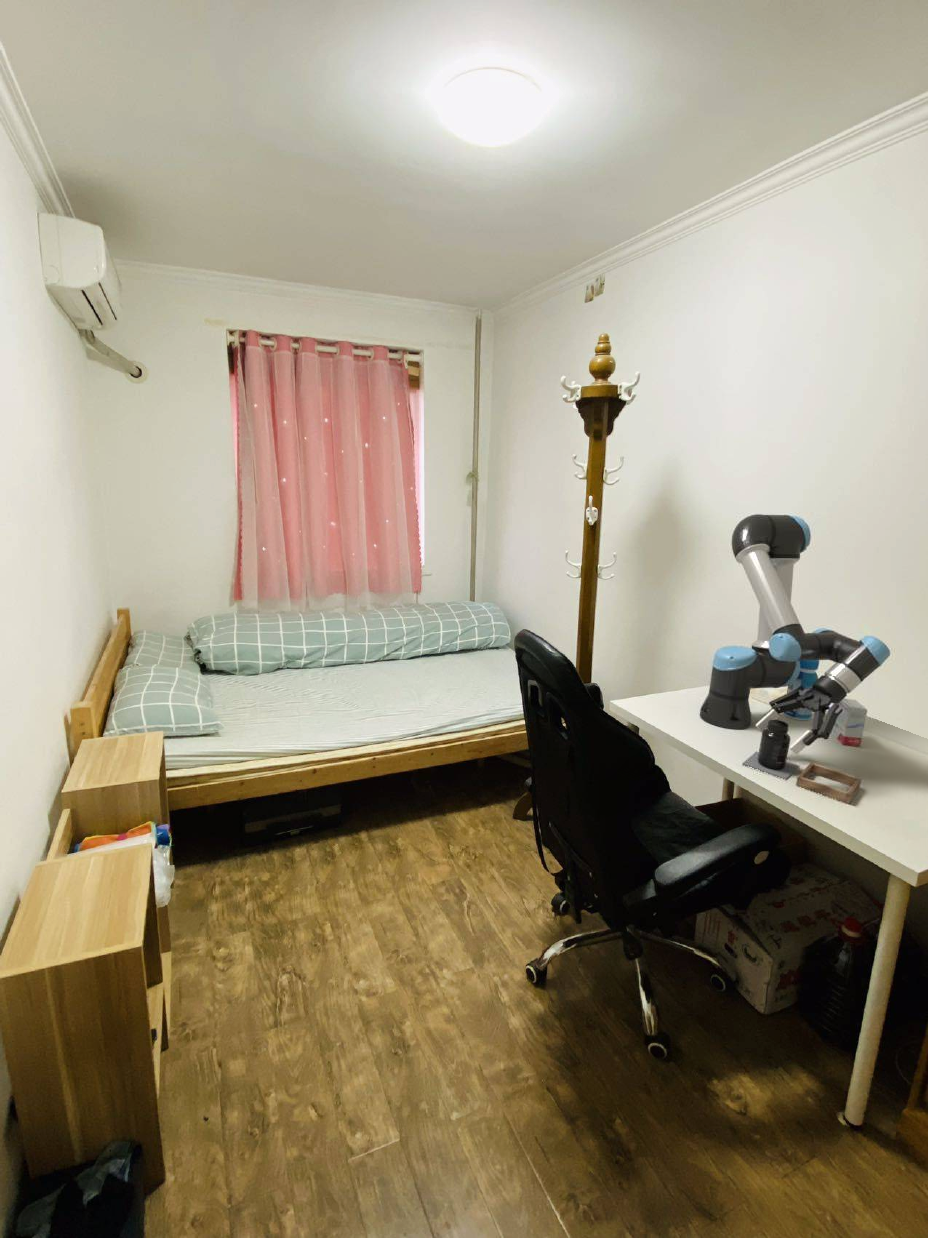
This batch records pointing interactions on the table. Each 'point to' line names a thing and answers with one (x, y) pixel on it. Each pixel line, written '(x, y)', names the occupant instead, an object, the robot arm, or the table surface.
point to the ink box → (850, 722)
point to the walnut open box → (828, 790)
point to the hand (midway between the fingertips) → (774, 739)
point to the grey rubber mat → (782, 773)
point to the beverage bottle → (806, 680)
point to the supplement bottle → (774, 745)
